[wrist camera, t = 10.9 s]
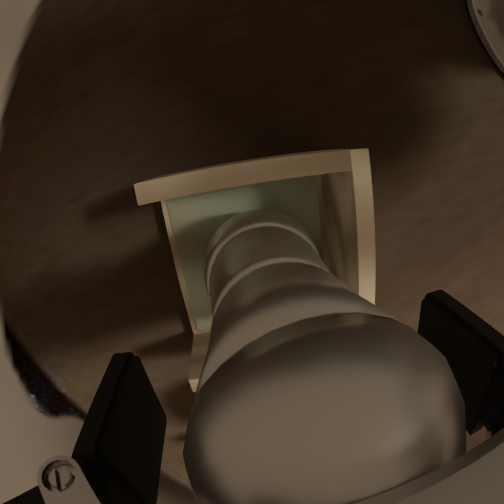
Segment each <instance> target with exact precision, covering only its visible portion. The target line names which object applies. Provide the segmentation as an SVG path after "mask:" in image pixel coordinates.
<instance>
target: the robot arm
mask: <svg viewBox="0 0 504 504" xmlns="http://www.w3.org/2000/svg"><path fill="white" fill-rule="evenodd" d="M467 5H468V10H469V13H470V16H471V19H472V22H473V24H474V26H475V29H476V31H477V33H478V35H479V37H480V39H481V41H482V43H483V45H484V46H485V48H486V50H487V52H488V53H489V55H490V56H491V58H492V59H493V61H494V62H495V64H496V65H497V66H498V67H499V69H500V70H501V71H502V72H503V73H504V0H467ZM418 334H419V335H421V336H422V337H423V338H424V339H426V340H427V341H428V342H429V343H431V344H432V345H433V346H434V347H435V348H436V349H437V350H438V351H439V352H441V353H442V354H443V355H444V356H445V357H446V360H447V362H448V364H449V366H450V369H451V371H452V373H453V375H454V378H455V380H456V382H457V385H458V387H459V390H460V392H461V395H462V397H463V400H464V402H465V417H466V430H467V431H468V433H469V434H470V435H472V434H474V433H475V432H477V431H478V430H480V429H482V427H483V425H484V426H485V427H486V429H487V430H486V440H485V441H484V442H483V443H481V444H479V445H478V446H476V447H475V448H473V449H472V450H470V451H468V452H467V453H465V454H463V455H462V456H460V457H458V458H456V459H455V460H453V461H451V462H449V463H447V464H446V465H444V466H442V467H440V468H438V469H436V470H434V471H432V472H430V473H428V474H426V475H424V476H422V477H420V478H418V479H416V480H413V481H411V482H409V483H407V484H405V485H402V486H400V487H397V488H395V489H393V490H390V491H388V492H385V493H383V494H380V495H377V496H374V497H372V498H369V499H366V500H363V501H360V502H357V503H354V504H504V336H503V335H502V334H500V333H499V332H498V331H497V330H495V329H494V328H493V327H492V326H490V325H489V324H488V323H486V322H485V321H484V320H483V319H481V318H480V317H479V316H477V315H476V314H475V313H473V312H472V311H471V310H469V309H468V308H467V307H465V306H464V305H462V304H461V303H460V302H458V301H457V300H456V299H454V298H453V297H451V296H450V295H449V294H447V293H446V292H444V291H443V290H437V291H434V292H431V293H428V294H426V296H425V298H424V299H423V300H422V303H421V311H420V319H419V326H418ZM166 422H167V421H166V415H165V412H164V410H163V408H162V406H161V404H160V402H159V400H158V398H157V396H156V394H155V392H154V389H153V387H152V385H151V383H150V381H149V378H148V376H147V374H146V372H145V369H144V367H143V365H142V362H141V360H140V358H139V357H138V356H134V355H133V353H131V352H126V353H115V354H114V355H113V356H112V358H111V361H110V363H109V365H108V367H107V369H106V372H105V374H104V376H103V378H102V381H101V383H100V385H99V388H98V390H97V392H96V395H95V397H94V399H93V402H92V404H91V407H90V409H89V411H88V414H87V416H86V419H85V421H84V424H83V427H82V429H81V432H80V434H79V437H78V439H77V442H76V445H75V448H74V450H73V454H72V457H68V456H64V455H63V456H55V457H52V458H50V459H49V460H47V461H45V462H44V464H43V465H42V466H41V467H40V469H39V471H38V475H37V481H38V486H36V487H34V488H32V489H30V490H29V491H27V492H25V493H23V494H21V495H19V496H17V497H15V498H13V499H11V500H9V501H7V502H5V503H3V504H156V502H157V495H158V486H159V485H158V484H159V477H160V468H161V460H162V452H163V445H164V437H165V430H166Z"/></svg>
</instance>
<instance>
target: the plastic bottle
mask: <svg viewBox="0 0 504 504" xmlns="http://www.w3.org/2000/svg"><path fill="white" fill-rule="evenodd" d="M203 275H204V280H205V285H206V290H207V294H208V296H209V298H210V301H211V309H212V325H211V330H210V338H209V346H208V351H207V354H206V358H205V361H204V364H203V368H202V371H201V375H200V378H199V382H198V385H197V389H196V392H195V396H194V400H193V404H192V406H191V409H190V414H189V419H188V425H187V431H186V438H185V444H184V449H183V457H184V463H185V468H186V471H187V474H188V478H189V481H190V484H191V487H192V490H193V493H194V496H195V498H196V501H197V503H198V504H354V503H357V502H360V501H363V500H366V499H369V498H372V497H374V496H377V495H380V494H383V493H385V492H388V491H390V490H393V489H395V488H397V487H400V486H402V485H405V484H407V483H409V482H411V481H413V480H416V479H418V478H420V477H422V476H424V475H426V474H428V473H430V472H432V471H434V470H436V469H438V468H440V467H442V466H444V465H446V464H447V463H449V462H451V461H453V460H455V459H456V458H458V457H460V456H462V455H463V454H465V453H466V417H465V402H464V400H463V397H462V395H461V392H460V390H459V387H458V385H457V382H456V380H455V378H454V375H453V373H452V371H451V369H450V366H449V364H448V362H447V360H446V357H445V356H444V355H443V354H442V353H441V352H439V351H438V350H437V349H436V348H435V347H434V346H433V345H432V344H431V343H429V342H428V341H427V340H426V339H424V338H423V337H422V336H421V335H419V334H418V333H417V332H416V331H415V330H413V329H412V328H411V327H410V326H407V325H405V324H403V323H402V322H401V321H400V320H398V319H396V318H395V317H393V316H392V315H390V314H388V313H387V312H385V311H384V310H382V309H380V308H379V307H377V306H376V305H374V304H372V303H371V302H369V301H368V300H366V299H364V298H363V297H361V296H360V295H358V294H356V293H355V292H353V291H352V290H350V289H349V288H348V287H347V286H346V285H345V284H344V283H342V282H341V281H340V280H339V279H338V278H337V277H336V276H334V275H333V274H332V273H331V272H330V271H329V270H328V269H327V267H326V266H325V264H324V263H323V261H322V260H321V258H320V256H319V253H318V251H317V249H316V246H315V244H314V243H313V241H312V239H311V237H310V236H309V234H308V233H307V232H306V230H305V229H304V228H303V227H302V226H301V225H300V224H299V223H298V222H297V221H295V220H294V219H293V218H291V217H289V216H287V215H285V214H283V213H280V212H276V211H273V210H261V209H259V210H251V211H246V212H243V213H240V214H237V215H235V216H234V217H232V218H230V219H229V220H227V221H226V222H225V223H224V224H223V225H222V226H221V227H219V228H218V229H217V231H216V232H215V233H214V235H213V236H212V238H211V239H210V241H209V243H208V246H207V248H206V250H205V255H204V259H203Z"/></svg>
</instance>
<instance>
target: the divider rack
mask: <svg viewBox="0 0 504 504" xmlns="http://www.w3.org/2000/svg"><path fill="white" fill-rule="evenodd" d="M134 188H135V193H136V198H137V203H138V206H139V205H144V204H148V203H153V202H157V201H161V205H162V210H163V214H164V219H165V224H166V228H167V233H168V237H169V242H170V246H171V250H172V255H173V259H174V263H175V267H176V271H177V275H178V279H179V283H180V287H181V291H182V294H183V298H184V302H185V306H186V309H187V313H188V317H189V320H190V324H191V327H192V331H193V334H194V335H193V343H192V352H191V361H190V371H189V383H190V385H191V388H192V391H193V392H196V389H197V385H198V382H199V378H200V375H201V371H202V368H203V364H204V361H205V358H206V354H207V351H208V346H209V338H210V330H211V325H212V309H211V301H210V298H209V296H208V294H207V290H206V285H205V280H204V275H203V259H204V255H205V250H206V248H207V246H208V243H209V241H210V239H211V238H212V236H213V235H214V233H215V232H216V231H217V229H218V228H219V227H221V226H222V225H223V224H224V223H225V222H226V221H227V220H229V219H230V218H232V217H234V216H235V215H237V214H240V213H243V212H246V211H251V210H259V209H261V210H273V211H276V212H280V213H283V214H285V215H287V216H289V217H291V218H293V219H294V220H295V221H297V222H298V223H299V224H300V225H301V226H302V227H303V228H304V229H305V230H306V232H307V233H308V234H309V236H310V237H311V239H312V241H313V243H314V244H315V246H316V249H317V251H318V253H319V256H320V258H321V260H322V261H323V263H324V264H325V266H326V267H327V269H328V270H329V271H330V272H331V273H332V274H333V275H334V276H336V277H337V278H338V279H339V280H340V281H341V282H342V283H344V284H345V285H346V286H347V287H348V288H349V289H350V290H352V291H353V292H355V293H356V294H358V295H360V296H361V297H363V298H364V299H366V300H368V301H369V302H371V303H372V304H374V305H375V226H374V206H373V191H372V179H371V168H370V158H369V149H335V150H321V151H311V152H302V153H293V154H285V155H277V156H270V157H262V158H255V159H249V160H242V161H236V162H230V163H224V164H218V165H213V166H207V167H202V168H196V169H191V170H186V171H181V172H176V173H172V174H167V175H162V176H158V177H155V178H151V179H148V180H145V181H142V182H139V183H136V184H134Z"/></svg>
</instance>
